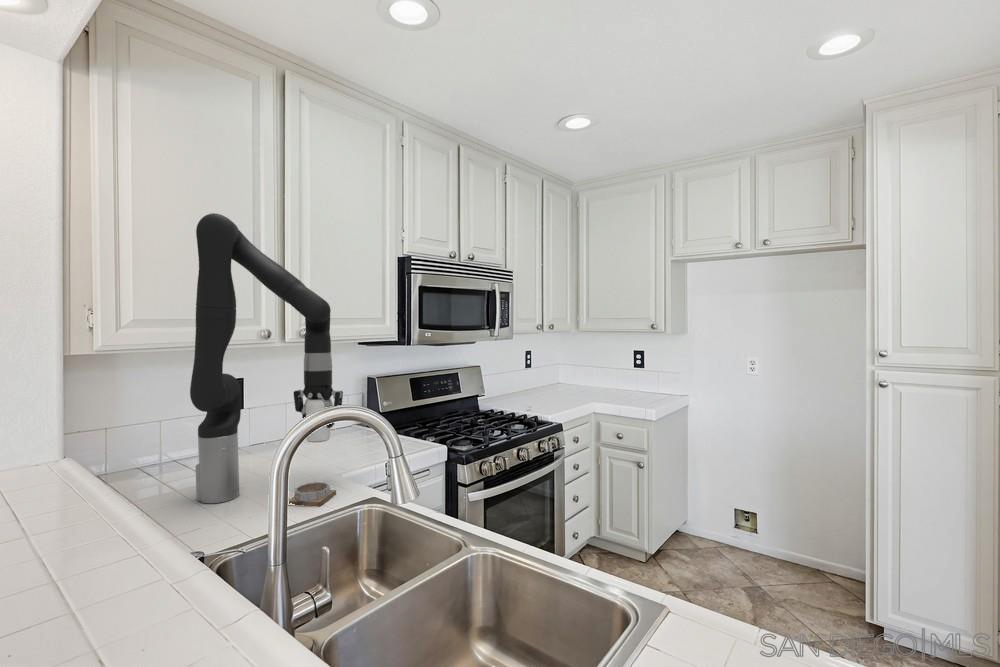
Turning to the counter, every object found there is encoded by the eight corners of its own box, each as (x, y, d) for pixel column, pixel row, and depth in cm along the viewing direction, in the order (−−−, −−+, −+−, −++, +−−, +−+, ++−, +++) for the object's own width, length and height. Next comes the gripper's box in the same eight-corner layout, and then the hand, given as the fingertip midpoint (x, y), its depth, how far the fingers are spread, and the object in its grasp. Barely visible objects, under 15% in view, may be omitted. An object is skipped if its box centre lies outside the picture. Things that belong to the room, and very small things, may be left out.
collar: (288, 500, 125) (288, 493, 125) (305, 489, 134) (305, 481, 134) (319, 501, 124) (319, 494, 124) (335, 490, 133) (335, 482, 132)
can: (322, 443, 135) (322, 400, 135) (301, 442, 136) (301, 399, 136) (334, 437, 141) (334, 396, 141) (314, 436, 143) (314, 395, 142)
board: (287, 505, 125) (287, 500, 125) (305, 493, 134) (305, 488, 134) (319, 506, 124) (319, 502, 124) (336, 494, 133) (335, 489, 133)
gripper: (286, 369, 135) (287, 429, 136) (335, 370, 134) (336, 430, 134) (301, 366, 143) (301, 423, 143) (347, 367, 141) (348, 425, 142)
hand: (318, 426), depth 139 cm, fingers closed on can, 6 cm apart
